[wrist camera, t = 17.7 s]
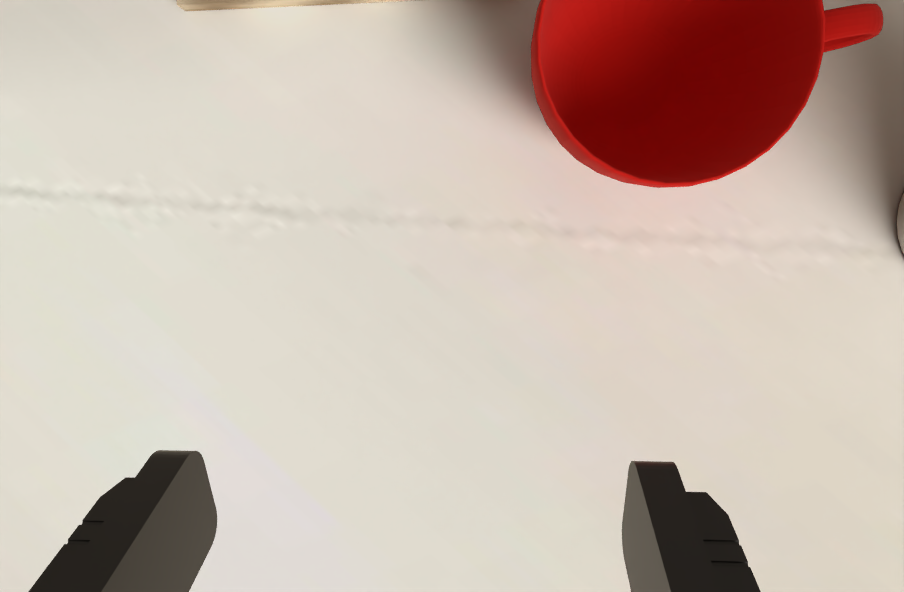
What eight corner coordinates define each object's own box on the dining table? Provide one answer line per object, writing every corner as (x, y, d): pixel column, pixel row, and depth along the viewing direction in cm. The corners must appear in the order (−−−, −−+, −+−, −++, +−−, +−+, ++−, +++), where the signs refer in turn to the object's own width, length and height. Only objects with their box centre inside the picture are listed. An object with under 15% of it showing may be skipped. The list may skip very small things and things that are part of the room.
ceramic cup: (808, 166, 39) (923, 153, 30) (530, 205, 40) (552, 205, 30) (793, -59, 38) (910, -153, 28) (503, -14, 38) (517, -92, 28)
